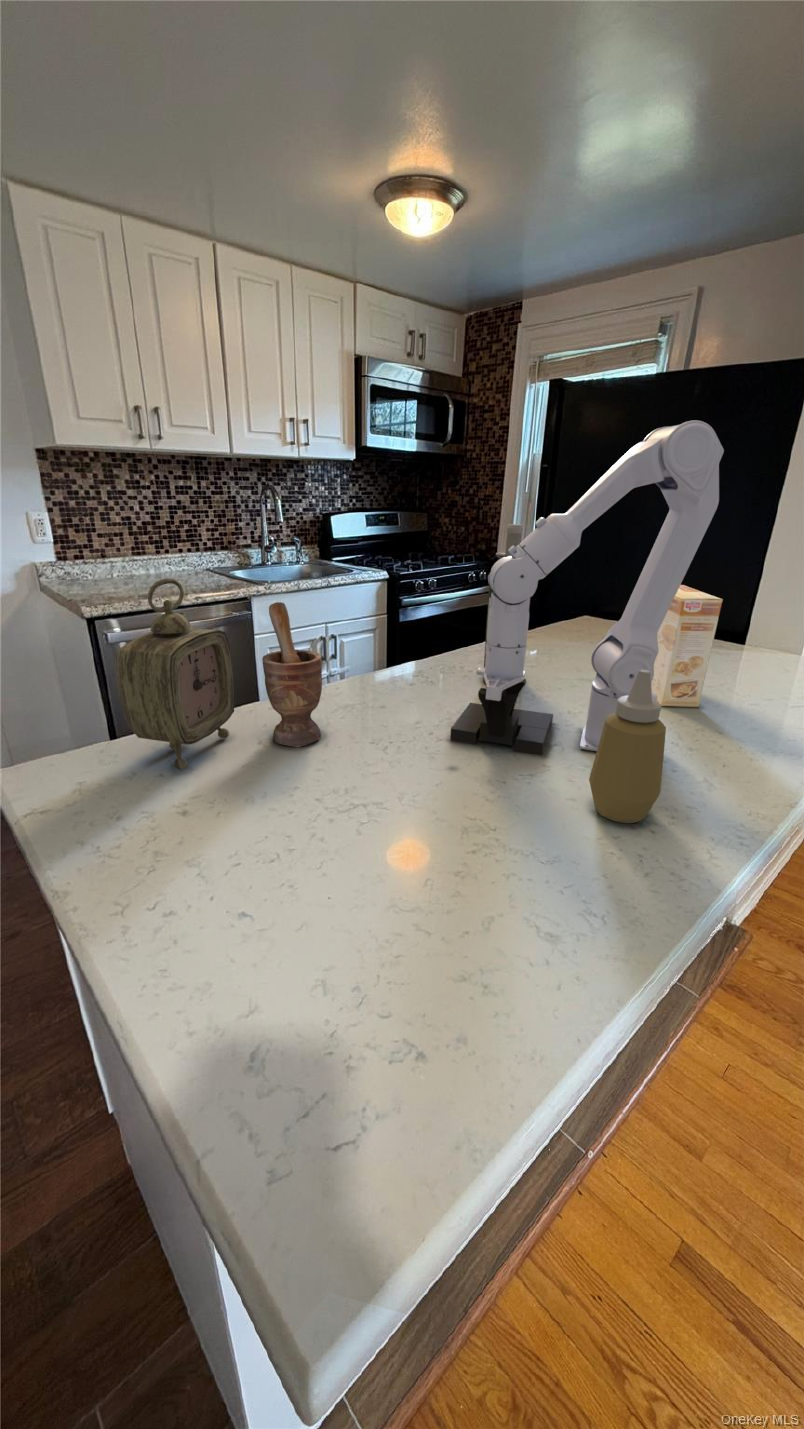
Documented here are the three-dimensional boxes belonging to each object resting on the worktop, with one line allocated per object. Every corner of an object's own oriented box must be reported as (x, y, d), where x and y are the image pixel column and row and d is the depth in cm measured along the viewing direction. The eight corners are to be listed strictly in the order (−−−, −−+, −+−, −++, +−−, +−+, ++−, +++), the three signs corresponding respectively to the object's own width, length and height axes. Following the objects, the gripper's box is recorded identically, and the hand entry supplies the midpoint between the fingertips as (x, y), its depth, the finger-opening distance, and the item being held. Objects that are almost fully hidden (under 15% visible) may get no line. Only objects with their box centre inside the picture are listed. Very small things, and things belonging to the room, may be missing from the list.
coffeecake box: (700, 707, 102) (725, 598, 94) (660, 707, 102) (682, 598, 94) (665, 680, 115) (684, 583, 108) (630, 679, 116) (647, 583, 108)
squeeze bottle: (652, 800, 72) (680, 664, 65) (657, 835, 65) (689, 687, 58) (586, 789, 74) (606, 657, 67) (583, 822, 67) (605, 678, 60)
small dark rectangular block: (516, 734, 89) (518, 716, 88) (511, 745, 85) (513, 727, 84) (485, 729, 90) (486, 712, 89) (479, 740, 86) (480, 722, 85)
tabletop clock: (184, 778, 76) (154, 590, 66) (127, 769, 78) (90, 585, 69) (240, 735, 89) (222, 572, 79) (190, 728, 91) (167, 569, 81)
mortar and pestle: (247, 731, 90) (234, 606, 83) (292, 716, 96) (283, 598, 88) (291, 754, 83) (281, 619, 75) (336, 736, 89) (331, 609, 81)
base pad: (551, 725, 94) (553, 714, 93) (541, 755, 83) (543, 743, 82) (469, 713, 98) (470, 702, 97) (450, 740, 88) (450, 728, 87)
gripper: (490, 629, 89) (484, 708, 95) (466, 652, 77) (461, 743, 82) (535, 633, 87) (526, 714, 92) (518, 658, 75) (510, 751, 80)
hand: (499, 728), depth 87 cm, fingers closed on small dark rectangular block, 4 cm apart
